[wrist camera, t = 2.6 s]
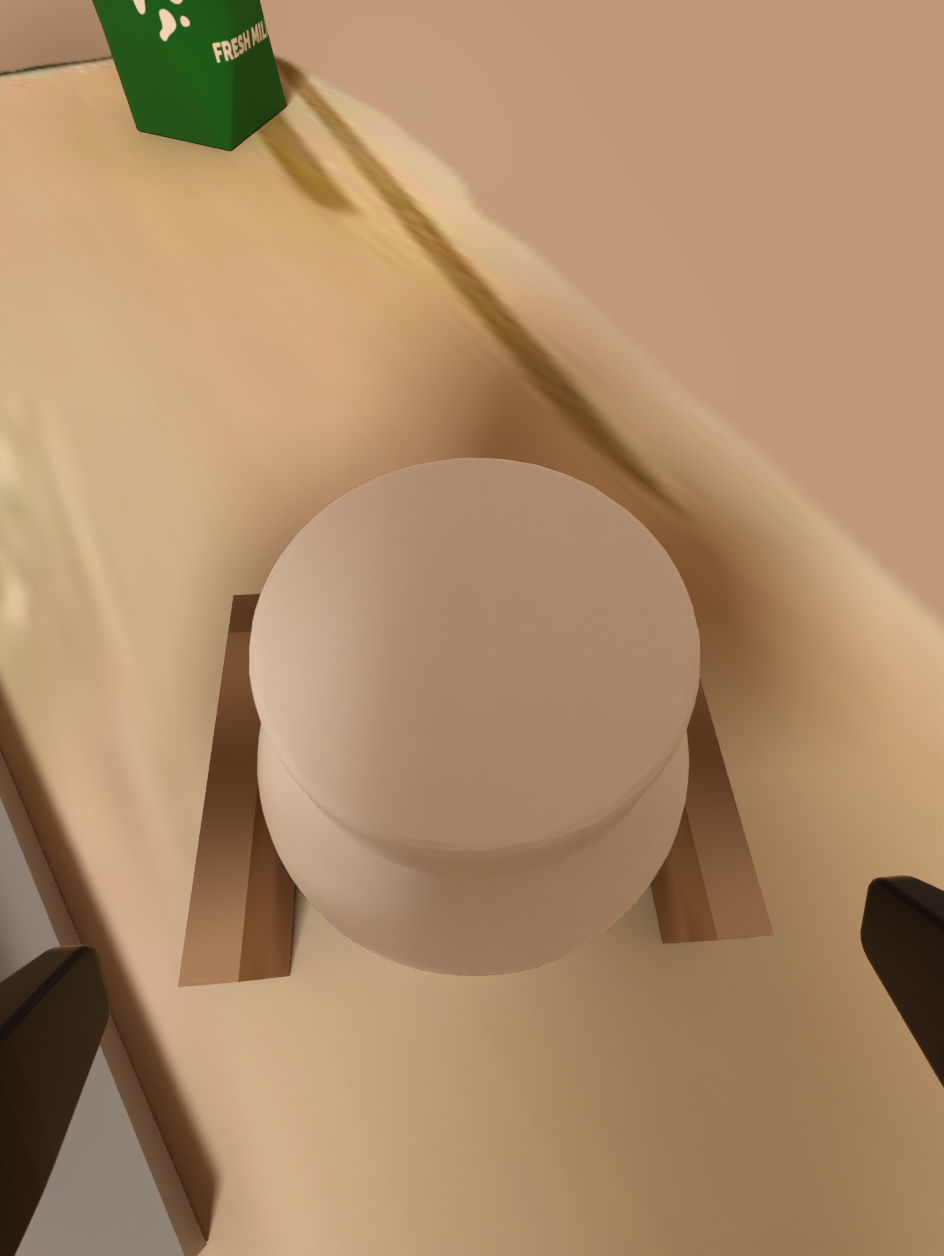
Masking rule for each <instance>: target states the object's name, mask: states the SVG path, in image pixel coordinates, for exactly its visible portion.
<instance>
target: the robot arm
mask: <svg viewBox="0 0 944 1256" xmlns="http://www.w3.org/2000/svg"><path fill="white" fill-rule="evenodd" d="M861 942H862V946H863V949H864V952H865V954H866V956H867V958H868V960H869V962H870V963H871V965H872V967H873V969H874V970H875V972H876V974H877V975H878V977H879V979H880V980H881V982H882V984H883V986H884V987H885V989H886V991H887V992H888V994H889V996H890V997H891V999H892V1001H893V1003H894V1004H895V1006H896V1008H897V1009H898V1011H899V1013H900V1015H901V1016H902V1018H903V1020H904V1021H905V1023H906V1025H907V1026H908V1028H909V1030H910V1032H911V1033H912V1035H913V1037H914V1038H915V1040H916V1042H917V1043H918V1045H919V1047H920V1049H921V1050H922V1052H923V1054H924V1055H925V1057H926V1059H927V1060H928V1062H929V1064H930V1066H931V1067H932V1069H933V1071H934V1072H935V1074H936V1076H937V1077H938V1079H939V1081H940V1082H941V1084H942V1085H943V1087H944V891H943V890H941V889H938V888H936V887H934V886H932V885H930V884H928V883H925V882H923V881H921V880H919V879H917V878H914V877H911V876H891V877H879V878H876V879H874V880H873V881H872V882H871V883H870V884H869V887H868V891H867V897H866V903H865V909H864V914H863V920H862V926H861ZM109 1015H110V998H109V994H108V991H107V987H106V984H105V980H104V977H103V973H102V970H101V966H100V963H99V959H98V956H97V953H96V951H95V950H94V949H93V948H92V947H91V946H89V945H72V946H60V947H55V948H51V949H49V950H47V951H45V952H43V953H42V954H40V955H39V956H38V957H36V958H35V959H33V960H32V961H30V962H29V963H28V964H26V965H25V966H23V967H22V968H20V969H19V970H17V971H16V972H15V973H13V974H12V975H10V976H9V977H7V978H6V979H4V980H3V981H2V982H0V1256H15V1254H16V1252H17V1250H18V1248H19V1246H20V1244H21V1241H22V1239H23V1237H24V1235H25V1233H26V1231H27V1229H28V1226H29V1224H30V1222H31V1220H32V1218H33V1215H34V1213H35V1211H36V1209H37V1206H38V1204H39V1202H40V1200H41V1197H42V1195H43V1193H44V1191H45V1188H46V1186H47V1183H48V1181H49V1178H50V1176H51V1173H52V1171H53V1168H54V1166H55V1163H56V1161H57V1158H58V1155H59V1152H60V1150H61V1147H62V1144H63V1142H64V1139H65V1136H66V1134H67V1131H68V1128H69V1126H70V1123H71V1120H72V1118H73V1115H74V1112H75V1110H76V1107H77V1104H78V1102H79V1099H80V1096H81V1094H82V1091H83V1088H84V1086H85V1083H86V1080H87V1078H88V1075H89V1072H90V1070H91V1067H92V1064H93V1062H94V1059H95V1056H96V1054H97V1051H98V1048H99V1046H100V1043H101V1040H102V1038H103V1035H104V1032H105V1030H106V1027H107V1024H108V1020H109Z"/></svg>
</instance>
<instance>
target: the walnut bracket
mask: <svg viewBox="0 0 944 1256" xmlns="http://www.w3.org/2000/svg"><path fill="white" fill-rule="evenodd" d="M259 597H260V594H251V595H234V596H233V603H232V610H231V617H230V624H229V631H228V638H227V646H226V653H225V660H224V667H223V674H222V681H221V688H220V695H219V702H218V709H217V716H216V723H215V730H214V737H213V744H212V751H211V759H210V766H209V773H208V780H207V787H206V794H205V801H204V808H203V815H202V822H201V829H200V836H199V843H198V850H197V857H196V865H195V872H194V879H193V886H192V893H191V900H190V907H189V914H188V921H187V928H186V935H185V942H184V949H183V956H182V963H181V970H180V978H179V985H178V987H184V986H196V985H207V984H219V983H230V982H241V981H250V980H258V979H267V978H276V977H284V976H290V960H291V945H292V929H293V913H294V898H295V883H294V881H293V880H292V878H291V877H290V875H289V873H288V871H287V870H286V868H285V866H284V864H283V862H282V861H281V859H280V857H279V855H278V853H277V851H276V848H275V846H274V843H273V841H272V838H271V835H270V833H269V830H268V827H267V824H266V820H265V817H264V813H263V810H262V805H261V799H260V793H259V785H258V777H257V760H258V742H259V733H260V727H261V721H260V718H259V715H258V712H257V708H256V705H255V702H254V698H253V693H252V688H251V682H250V675H249V661H250V657H249V645H250V638H251V631H252V622H253V617H254V613H255V609H256V606H257V603H258V600H259ZM686 731H687V740H688V750H689V774H688V786H687V793H686V800H685V805H684V809H683V813H682V817H681V821H680V824H679V828H678V832H677V834H676V837H675V839H674V842H673V844H672V847H671V849H670V851H669V854H668V856H667V857H666V859H665V861H664V862H663V864H662V866H661V867H660V869H659V871H658V873H657V874H656V876H655V878H654V879H653V881H652V882H651V887H652V892H653V897H654V902H655V907H656V912H657V917H658V921H659V926H660V931H661V936H662V941H663V943H677V942H693V941H709V940H723V939H735V938H746V937H758V936H769V935H773V932H772V928H771V925H770V921H769V918H768V914H767V911H766V907H765V904H764V900H763V897H762V893H761V890H760V886H759V883H758V879H757V876H756V872H755V869H754V865H753V862H752V858H751V855H750V851H749V848H748V845H747V841H746V838H745V834H744V831H743V827H742V824H741V820H740V817H739V813H738V810H737V806H736V803H735V799H734V796H733V792H732V789H731V785H730V782H729V778H728V775H727V771H726V768H725V764H724V761H723V757H722V754H721V751H720V747H719V744H718V740H717V737H716V733H715V730H714V726H713V723H712V719H711V716H710V712H709V709H708V705H707V702H706V698H705V695H704V691H703V688H702V684H701V681H700V677H699V687H698V692H697V696H696V700H695V705H694V708H693V711H692V714H691V717H690V720H689V724H688V727H687V730H686Z"/></svg>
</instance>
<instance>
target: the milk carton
mask: <svg viewBox="0 0 944 1256" xmlns="http://www.w3.org/2000/svg"><path fill="white" fill-rule="evenodd" d="M92 1H93V4H94V7H95V9H96V12H97V14H98V17H99V20H100V22H101V25H102V28H103V30H104V33H105V36H106V39H107V42H108V45H109V48H110V51H111V54H112V57H113V60H114V63H115V66H116V69H117V72H118V74H119V77H120V80H121V83H122V86H123V89H124V92H125V95H126V98H127V101H128V104H129V107H130V110H131V113H132V116H133V119H134V121H135V124H136V127H137V130H139V131H143V132H147V133H152V134H157V135H161V136H166V137H170V138H175V139H179V140H184V141H189V142H193V143H198V144H202V145H207V146H211V147H216V148H221V149H225V150H232V149H233V148H234V147H235V146H237V145H238V144H239V143H240V142H242V141H243V140H244V139H245V138H247V137H248V136H249V135H250V134H252V133H253V132H254V131H255V130H257V129H258V128H259V127H260V126H262V125H263V124H264V123H265V122H267V121H268V120H269V119H270V118H272V117H273V116H274V115H275V114H277V113H278V112H279V111H280V110H282V109H283V108H284V107H286V106H287V105H286V101H285V98H284V94H283V90H282V86H281V82H280V78H279V74H278V70H277V67H276V63H275V59H274V55H273V51H272V47H271V43H270V39H269V36H268V32H267V28H266V24H265V20H264V16H263V12H262V8H261V4H260V0H92Z"/></svg>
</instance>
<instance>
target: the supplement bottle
mask: <svg viewBox="0 0 944 1256" xmlns="http://www.w3.org/2000/svg"><path fill="white" fill-rule="evenodd" d="M249 657H250V661H249V675H250V682H251V688H252V693H253V698H254V702H255V705H256V708H257V712H258V715H259V718H260V721H261V727H260V733H259V742H258V760H257V777H258V785H259V793H260V799H261V805H262V810H263V813H264V817H265V820H266V824H267V827H268V830H269V833H270V835H271V838H272V841H273V843H274V846H275V848H276V851H277V853H278V855H279V857H280V859H281V861H282V862H283V864H284V866H285V868H286V870H287V871H288V873H289V875H290V877H291V878H292V880H293V881H294V883H295V884H296V885H297V887H298V888H299V890H300V891H301V892H302V893H303V895H304V896H305V897H306V898H307V900H308V901H309V902H310V903H311V904H312V905H313V907H314V908H315V909H316V910H317V911H318V912H319V913H320V914H321V915H322V916H323V917H325V918H326V919H327V920H328V921H329V922H330V923H331V924H332V925H333V926H334V927H336V928H337V929H338V930H339V931H340V932H341V933H343V934H344V935H346V936H347V937H349V938H350V939H351V940H353V941H354V942H356V943H358V944H360V945H361V946H363V947H365V948H366V949H368V950H370V951H372V952H374V953H376V954H378V955H380V956H382V957H384V958H386V959H389V960H391V961H394V962H396V963H399V964H402V965H405V966H409V967H412V968H416V969H419V970H424V971H428V972H433V973H440V974H449V975H460V976H486V975H501V974H507V973H514V972H520V971H524V970H528V969H532V968H536V967H539V966H542V965H545V964H547V963H550V962H553V961H555V960H558V959H560V958H562V957H565V956H567V955H569V954H571V953H573V952H575V951H576V950H578V949H580V948H582V947H583V946H585V945H587V944H589V943H590V942H592V941H593V940H595V939H596V938H597V937H599V936H600V935H601V934H603V933H604V932H605V931H607V930H608V929H609V928H610V927H612V926H613V925H614V924H615V923H616V922H617V921H618V920H620V919H621V918H622V917H623V916H624V915H625V914H626V913H627V912H628V911H629V910H630V909H631V907H632V906H633V905H634V904H635V903H636V902H637V901H638V900H639V898H640V897H641V896H642V895H643V893H644V892H645V891H646V890H647V888H648V887H649V885H650V884H651V882H652V881H653V879H654V878H655V876H656V874H657V873H658V871H659V869H660V867H661V866H662V864H663V862H664V861H665V859H666V857H667V856H668V854H669V851H670V849H671V847H672V844H673V842H674V839H675V837H676V834H677V832H678V828H679V824H680V821H681V817H682V813H683V809H684V805H685V800H686V793H687V786H688V774H689V750H688V740H687V731H686V730H687V727H688V724H689V720H690V717H691V714H692V711H693V708H694V705H695V700H696V696H697V692H698V687H699V675H700V635H699V631H698V626H697V622H696V618H695V614H694V610H693V605H692V602H691V600H690V597H689V594H688V592H687V589H686V587H685V585H684V582H683V580H682V578H681V576H680V574H679V572H678V570H677V568H676V566H675V565H674V563H673V562H672V560H671V558H670V557H669V555H668V554H667V552H666V550H665V549H664V548H663V547H662V545H661V544H660V543H659V542H658V541H657V539H656V538H655V537H654V536H653V535H652V534H651V532H650V531H649V530H648V529H647V528H646V527H645V526H644V525H643V524H642V523H641V522H640V521H639V520H638V519H637V518H636V517H634V516H633V515H632V514H631V513H630V512H629V511H628V510H626V509H625V508H624V507H623V506H621V505H620V504H618V503H617V502H615V501H614V500H612V499H611V498H610V497H608V496H607V495H605V494H604V493H602V492H601V491H599V490H598V489H596V488H595V487H593V486H591V485H589V484H587V483H585V482H583V481H581V480H578V479H576V478H573V477H571V476H569V475H566V474H564V473H562V472H558V471H555V470H552V469H549V468H546V467H543V466H540V465H536V464H531V463H525V462H520V461H514V460H508V459H496V458H456V459H447V460H440V461H433V462H427V463H422V464H418V465H413V466H409V467H404V468H401V469H398V470H395V471H392V472H389V473H386V474H383V475H381V476H379V477H376V478H374V479H371V480H369V481H367V482H365V483H363V484H361V485H359V486H357V487H355V488H353V489H352V490H350V491H349V492H347V493H345V494H343V495H342V496H340V497H339V498H337V499H336V500H334V501H333V502H331V503H330V504H329V505H328V506H326V507H325V508H324V509H323V510H321V511H320V512H319V513H318V514H316V515H315V516H314V517H313V518H312V519H311V520H310V521H309V522H308V523H307V524H306V525H305V526H304V527H303V528H302V529H301V530H300V531H299V533H298V534H297V535H296V536H295V537H294V538H293V539H292V541H291V542H290V543H289V545H288V546H287V547H286V549H285V550H284V551H283V553H282V554H281V555H280V556H279V558H278V560H277V562H276V563H275V565H274V567H273V569H272V570H271V572H270V574H269V576H268V579H267V581H266V583H265V585H264V587H263V589H262V591H261V594H260V597H259V600H258V603H257V606H256V609H255V613H254V617H253V622H252V631H251V638H250V645H249Z"/></svg>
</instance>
